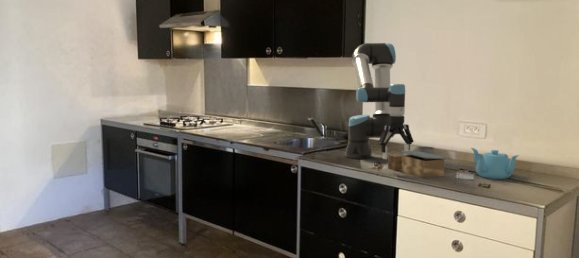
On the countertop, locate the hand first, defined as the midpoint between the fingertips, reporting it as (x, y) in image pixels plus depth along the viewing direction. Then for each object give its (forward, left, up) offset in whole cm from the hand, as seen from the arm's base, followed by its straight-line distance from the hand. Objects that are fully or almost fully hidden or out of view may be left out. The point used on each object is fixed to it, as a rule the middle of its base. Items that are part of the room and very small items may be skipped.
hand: (395, 158), depth 243 cm
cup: (+3, +17, -6) cm, 18 cm away
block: (0, 0, -6) cm, 6 cm away
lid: (+14, +5, +3) cm, 15 cm away
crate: (+14, +5, -6) cm, 16 cm away
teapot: (+32, +31, -6) cm, 45 cm away
